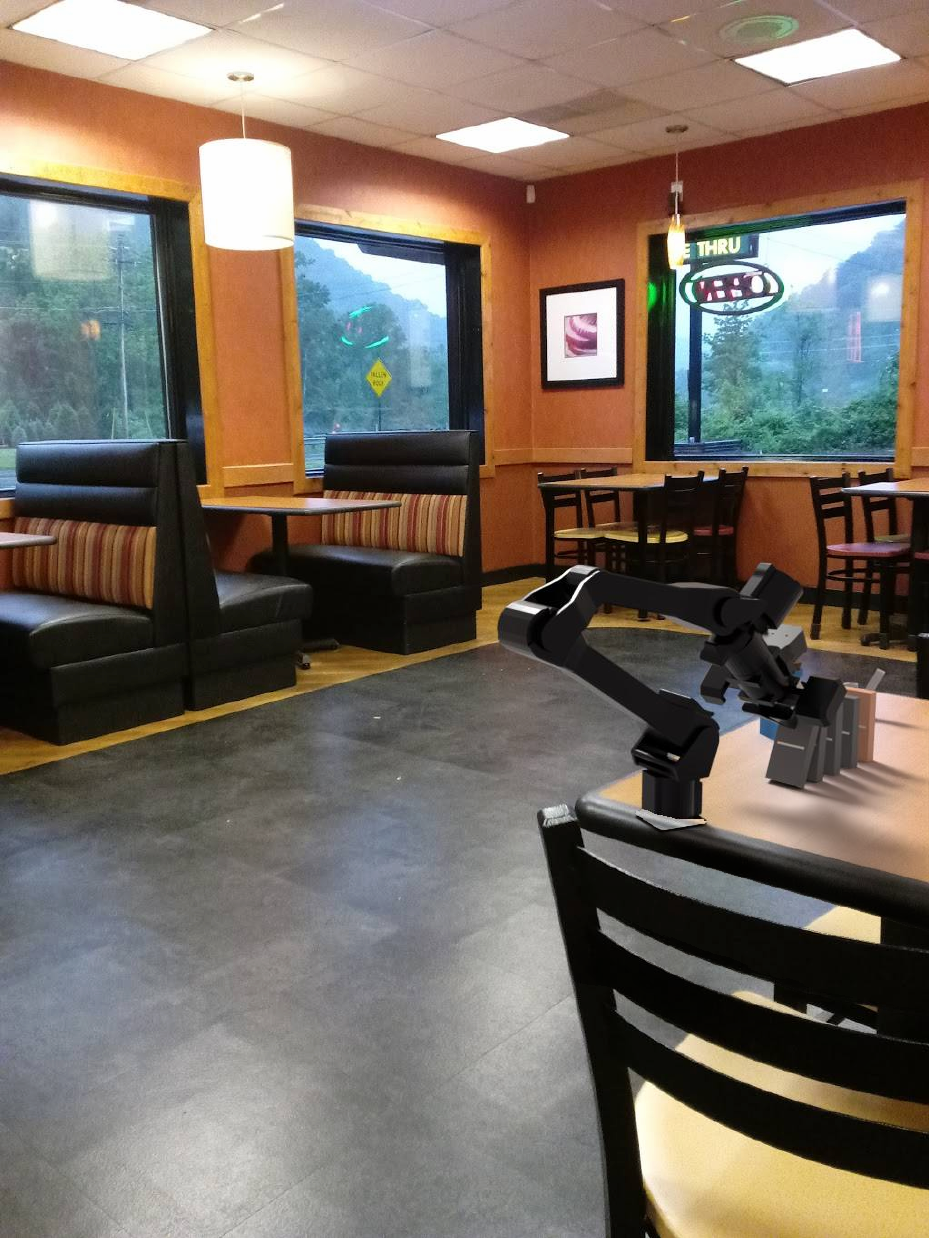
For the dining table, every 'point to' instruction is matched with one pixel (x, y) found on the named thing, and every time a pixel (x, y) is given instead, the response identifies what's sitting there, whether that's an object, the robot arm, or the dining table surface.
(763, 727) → the perfume bottle
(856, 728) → the domino
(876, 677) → the lighter
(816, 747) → the domino
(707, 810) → the dining table surface
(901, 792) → the dining table surface
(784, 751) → the domino
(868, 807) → the dining table surface
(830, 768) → the domino
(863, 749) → the domino
